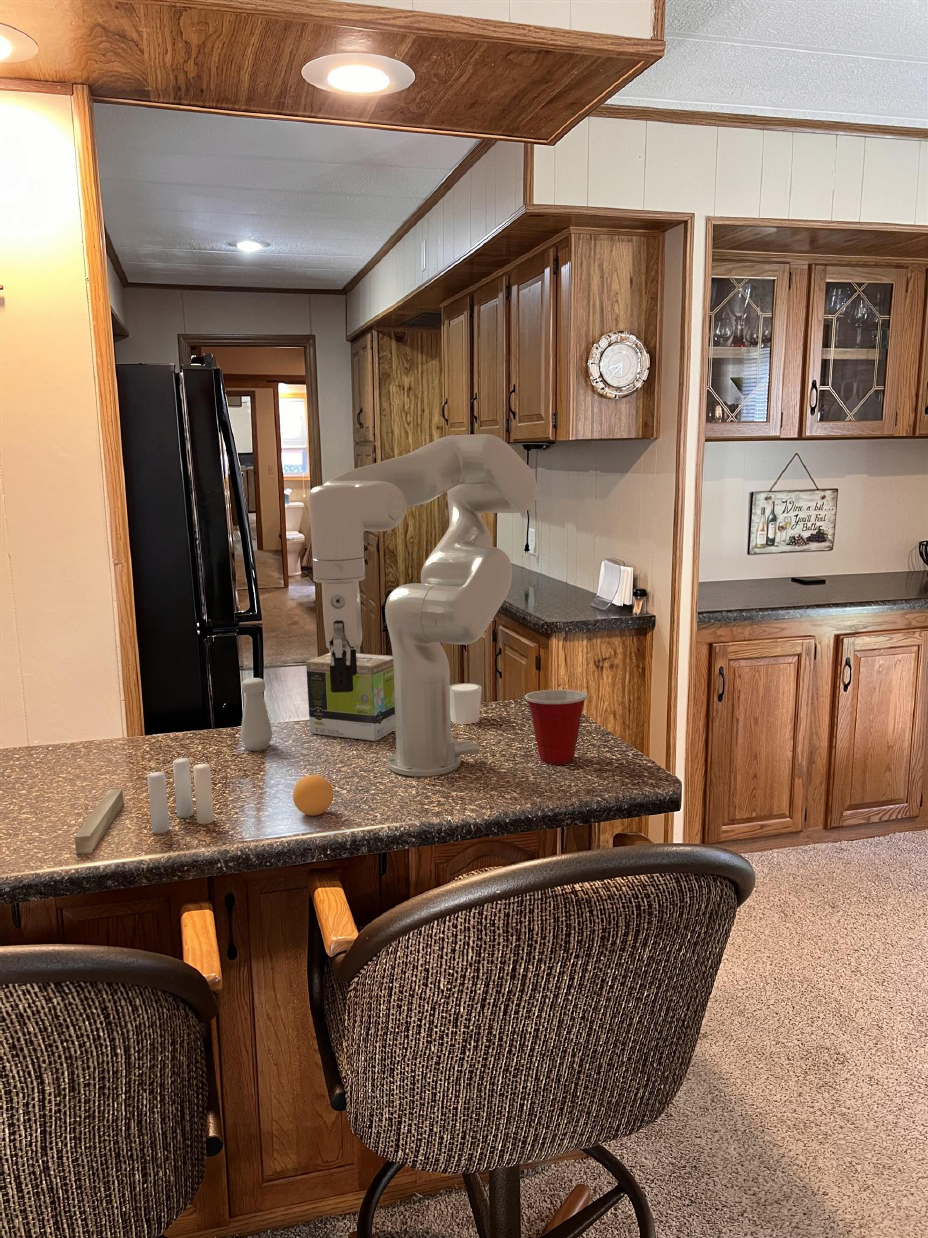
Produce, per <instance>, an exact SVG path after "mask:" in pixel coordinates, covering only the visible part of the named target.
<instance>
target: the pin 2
mask: <svg viewBox="0 0 928 1238" xmlns="http://www.w3.org/2000/svg"><path fill="white" fill-rule="evenodd" d="M172 768H173V769H172V770H173V771H172V772H173V782H174V783H173V784H174V794H175V806H176V817H178V818H180V819H181V818H182V819H183V818H189V817H191V816H194V802H193V790H192V789H193V787H192V779H191V778H192V777H191V776H192V775H191V765H190V759H188V758H186V757H185V758H183V757H182V758H177V759H174V760H173V761H172Z"/></svg>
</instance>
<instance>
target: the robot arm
mask: <svg viewBox="0 0 928 1238" xmlns="http://www.w3.org/2000/svg"><path fill="white" fill-rule="evenodd" d="M446 492H447V506H448V518H449V525H448V528H447V530H446V532H445V533H444V535H443V536H442V538H441V539H440V540H439V542H438V543H437V545H436V546H435V548H434V549H433V550H432V551H431V553H430V554H429V556H428V557H427V558H426V560H425V562H424V564H423V566H422V568H421V572H420V581H421V583H419V582H418V583H417V582H415V583H411V582H410V583H407V584H406V583H405V584H402V585H400V586H398V587H395V588H394V589H393V590H392V591H391V593H390V594H389V595H388V596H387V599H386V601H385V602H386V603H385V606H384V608H385V609H384V612H385V613H384V614H385V622H386V626H387V630H388V635H389V639H390V640H389V641H390V644H391V651H392V652H391V653H392V656H393V668H394V699H395V726H396V730H395V746H396V748H395V749H396V750H395V751H396V752H394V753H392V754H391V755H390V756H389V757H388V759H387V767H388V768H389V770H390V771H392V772H393V773H396V774H398V775H403V776H409V777H434V776H438V775H439V776H441V775H445V774H448V773H450V772H453V771H454V770H456V769H458V768H459V767H460V766H461V764H462V763H461V762H462V761H461V760H462V759H461V755H478V754H479V752H480V751H479V749H480V748H479V743H478V742H471V741H470V740H469V739H468V740H467V739H466V740H459V741H458V740H457V739H454V738H453V734H452V728H451V727H452V726H451V725H452V723H451V715H450V686H451V682H450V680H451V678H450V677H451V674H450V673H451V671H450V663H449V660H448V656H447V653H446V652H445V649H444V647H443V646H442V644H449V645H471V644H473V643H475V642H477V641H478V640H480V639H481V637H482V636H483V634H484V633H485V632H486V630H487V629H488V627H489V626H490V624H491V622H492V621H493V619H494V618H495V615H496V614H497V613H498V611H499V609H500V608H501V607H502V605H503V603H504V601H505V599H506V598H507V596H508V594H509V591H510V588H511V585H512V581H513V566H512V562H511V559H510V557H509V555H507V553H506V552H505V551H504V550H503V549H501V548H499V547H497V546H493V544H492V543H493V540H492V535H491V533H490V530H489V528H488V527H487V525H486V523H485V522H484V521H483V520H482V515H481V513H487V514H488V513H489V514H491V513H492V514H493V513H494V514H498V513H500V514H518V513H524V512H526V511H529V510H530V509H531V508H532V507H533V505H534V504H535V502H536V500H537V496H538V483H537V479H536V477H535V474H534V472H533V470H532V469H531V468H530V466H529V465H528V464H527V463H526V461H524V459H522V458H521V456H520V455H519V454H518V452H516V450H514V449H513V448H512V447H511V445H509V443H507V442H505V440H503V439H502V438H500V437H499V436H497V435H494V434H490V433H479V434H475V433H474V434H452V435H446V436H443V437H440V438H438V439H435V440H434V441H432V442H430V443H428V444H426V445H424V446H421V447H419V448H418V449H416V450H413V451H411V452H409V453H407V454H404V455H401V456H396V457H393V458H389V459H386V460H382V461H380V462H379V461H378V462H375V463H372V464H369V465H368V464H367V465H364V466H361V467H356V468H354V469H352V470H348V471H346V472H343V473H341V474H340V475H339V474H338V475H337V476H335V477H333V478H331V479H328V481H326V482H325V483H323V484H322V485H317V486H315V487H313V488H311V490H310V491H309V495H308V497H309V498H308V500H309V520H310V522H309V523H310V537H311V538H310V539H311V553H312V555H311V556H312V575H313V582H315V583H319V584H321V593H322V594H321V596H322V612H323V613H322V614H323V615H322V616H323V626H324V636H325V646H326V648H327V649H328V650H330V653H331V665H330V682H331V692H333V693H336V692H352V691H353V675H356V674H357V661H356V653H357V650H358V649H359V648H360V647H361V646H362V642H363V625H362V623H363V622H362V611H361V609H362V607H361V605H362V604H361V593H360V584H359V582H361V581H364V580H365V579H366V569H365V547H364V546H365V545H364V544H365V543H364V532H367V531H368V532H386V531H389V530H393V529H394V528H396V527H398V526H399V525H400V524H401V523H402V521H403V520H404V519H405V516H406V514H407V510H408V509H407V508H408V507H413V506H414V507H415V506H420V505H423V504H424V505H425V504H427V503H430V502H433V500H435V499H437V498H438V497H440V496H441V495H443V494H445V493H446Z"/></svg>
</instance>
